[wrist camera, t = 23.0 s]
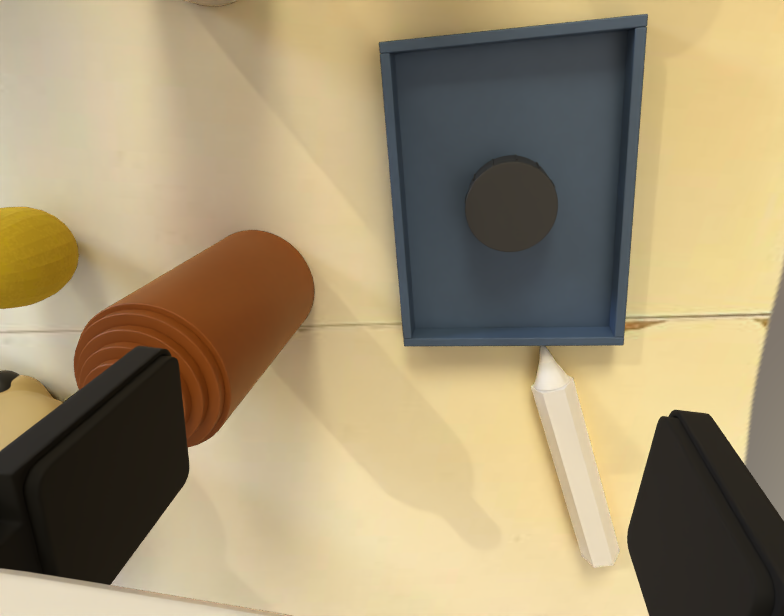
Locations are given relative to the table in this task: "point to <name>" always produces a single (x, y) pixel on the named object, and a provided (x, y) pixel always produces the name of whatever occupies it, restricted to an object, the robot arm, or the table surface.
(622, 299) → the slate tray
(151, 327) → the amber bottle
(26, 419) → the toy pig
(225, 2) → the bottle
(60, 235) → the lemon
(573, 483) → the white pencil
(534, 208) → the black cap
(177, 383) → the robot arm
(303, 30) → the table surface
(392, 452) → the table surface
